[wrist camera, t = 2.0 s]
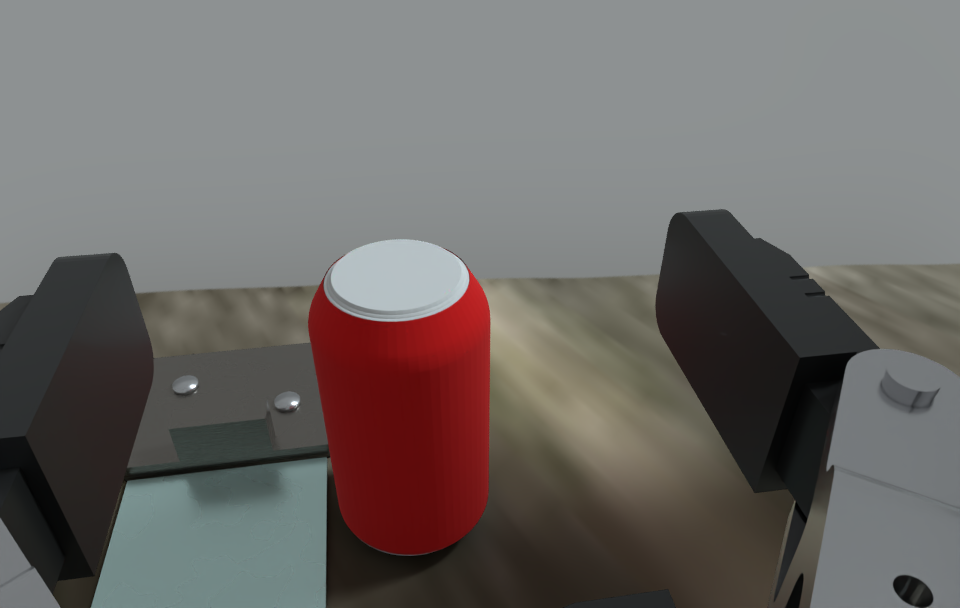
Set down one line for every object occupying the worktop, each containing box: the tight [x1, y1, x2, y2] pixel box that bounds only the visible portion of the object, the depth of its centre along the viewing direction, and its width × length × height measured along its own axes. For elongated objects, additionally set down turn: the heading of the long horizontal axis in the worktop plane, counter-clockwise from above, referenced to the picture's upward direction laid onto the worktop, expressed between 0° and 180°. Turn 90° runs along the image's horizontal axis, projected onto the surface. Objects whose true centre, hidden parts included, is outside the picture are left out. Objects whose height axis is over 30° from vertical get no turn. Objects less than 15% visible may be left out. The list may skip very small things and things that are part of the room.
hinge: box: [91, 343, 330, 608], centre depth 29 cm, size 9×24×3 cm, turn 9°
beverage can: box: [308, 239, 490, 556], centre depth 28 cm, size 6×6×12 cm
